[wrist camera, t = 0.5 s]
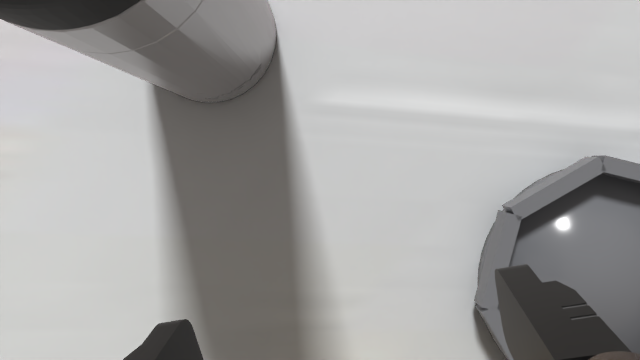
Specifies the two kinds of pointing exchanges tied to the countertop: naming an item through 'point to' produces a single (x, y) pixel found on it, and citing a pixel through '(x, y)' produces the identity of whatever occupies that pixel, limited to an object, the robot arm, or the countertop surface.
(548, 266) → the saucer
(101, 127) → the countertop surface
